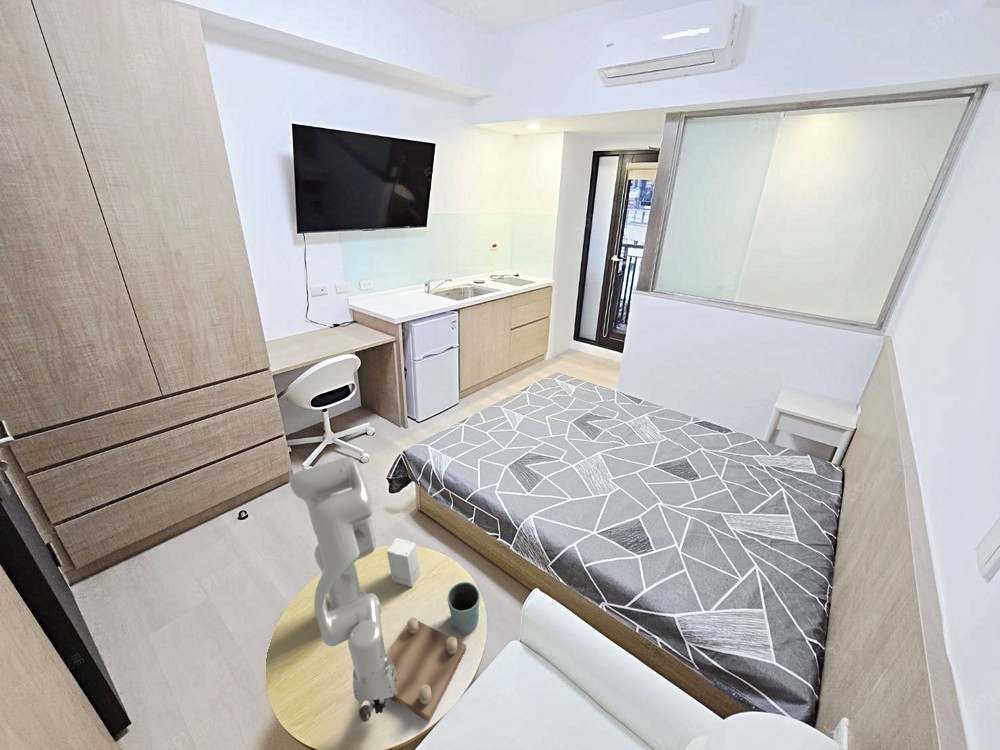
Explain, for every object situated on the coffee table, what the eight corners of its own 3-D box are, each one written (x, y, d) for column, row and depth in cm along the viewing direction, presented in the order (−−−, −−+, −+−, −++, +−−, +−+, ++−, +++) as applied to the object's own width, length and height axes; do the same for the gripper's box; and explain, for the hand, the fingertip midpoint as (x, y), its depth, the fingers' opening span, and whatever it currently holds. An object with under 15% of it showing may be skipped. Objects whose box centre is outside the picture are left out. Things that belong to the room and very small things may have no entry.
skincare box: (420, 573, 147) (417, 542, 141) (411, 589, 142) (407, 557, 135) (400, 567, 150) (396, 536, 143) (391, 582, 144) (386, 550, 138)
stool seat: (370, 686, 114) (367, 672, 111) (412, 623, 131) (410, 610, 128) (429, 722, 107) (427, 708, 104) (466, 650, 123) (465, 637, 120)
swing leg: (381, 666, 116) (380, 661, 115) (391, 669, 115) (390, 664, 114) (357, 720, 104) (356, 714, 103) (368, 723, 104) (367, 717, 102)
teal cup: (475, 639, 126) (474, 614, 121) (444, 632, 128) (442, 607, 123) (483, 609, 135) (482, 584, 130) (454, 603, 137) (453, 579, 132)
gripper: (403, 646, 102) (410, 687, 110) (343, 652, 101) (354, 693, 109) (400, 678, 96) (407, 720, 103) (335, 685, 94) (347, 727, 102)
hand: (380, 706), depth 106 cm, fingers closed
